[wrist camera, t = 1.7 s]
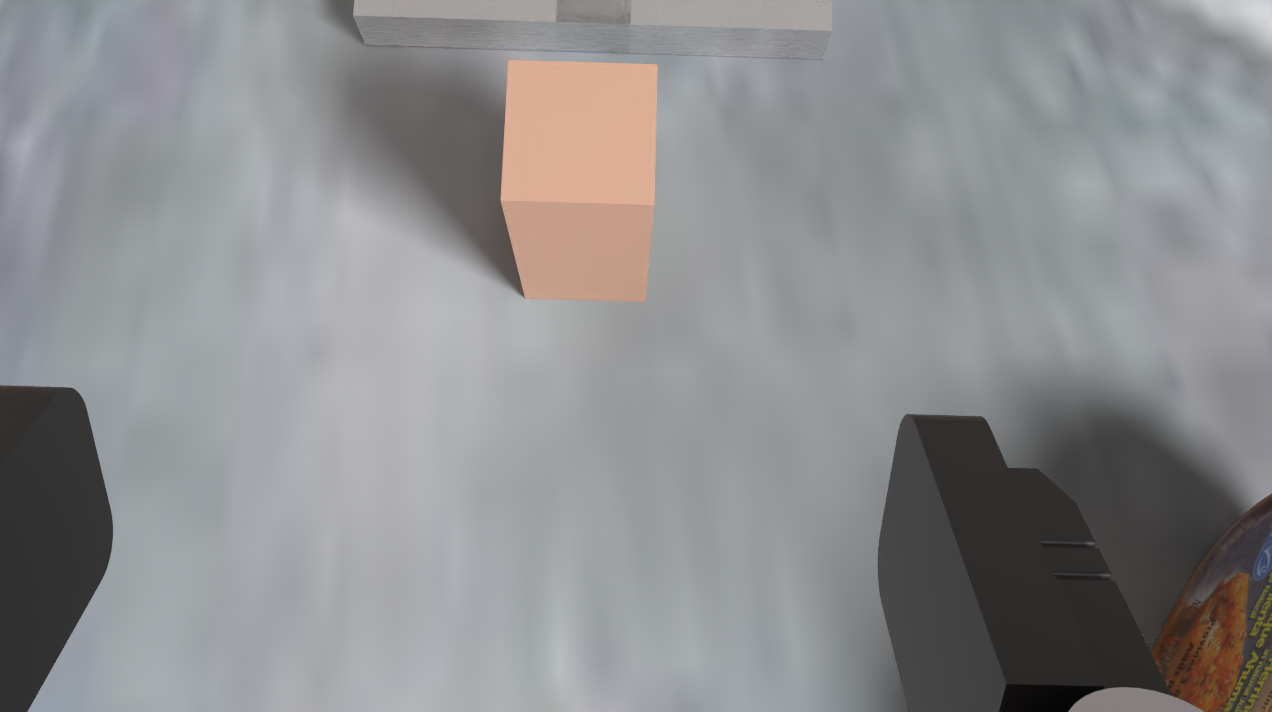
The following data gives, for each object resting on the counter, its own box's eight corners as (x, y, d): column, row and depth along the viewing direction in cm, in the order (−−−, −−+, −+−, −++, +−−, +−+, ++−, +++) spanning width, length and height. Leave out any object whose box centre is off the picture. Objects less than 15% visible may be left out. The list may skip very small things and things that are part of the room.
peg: (530, 185, 41) (508, 59, 32) (648, 188, 41) (657, 64, 32) (524, 298, 40) (500, 200, 31) (645, 301, 40) (654, 205, 31)
